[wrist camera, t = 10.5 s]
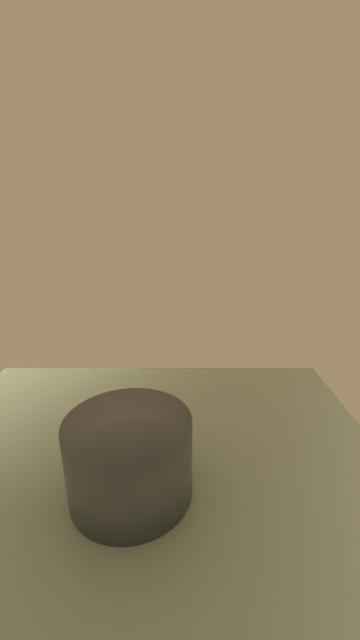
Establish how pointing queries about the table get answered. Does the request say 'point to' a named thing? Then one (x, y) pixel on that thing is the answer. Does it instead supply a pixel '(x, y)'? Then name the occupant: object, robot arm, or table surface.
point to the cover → (177, 505)
